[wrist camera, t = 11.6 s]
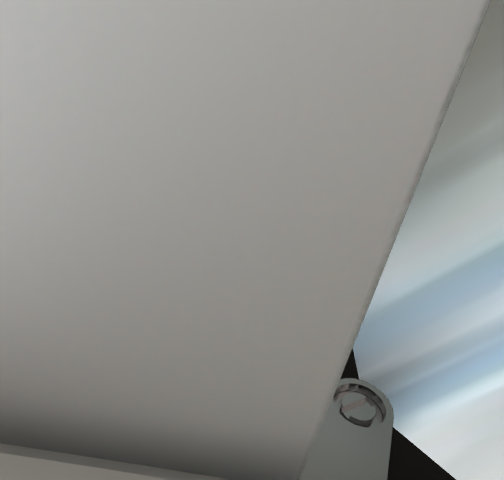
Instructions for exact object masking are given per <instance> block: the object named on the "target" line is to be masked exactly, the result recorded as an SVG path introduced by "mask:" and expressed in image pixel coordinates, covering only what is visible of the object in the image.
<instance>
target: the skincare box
mask: <svg viewBox="0 0 504 480" xmlns="http://www.w3.org/2000/svg"><path fill="white" fill-rule="evenodd" d="M490 1H491V0H0V443H2V444H9V445H15V446H22V447H29V448H35V449H41V450H48V451H54V452H61V453H67V454H74V455H80V456H87V457H93V458H100V459H106V460H112V461H119V462H125V463H131V464H138V465H144V466H151V467H157V468H163V469H170V470H176V471H182V472H188V473H194V474H200V475H207V476H213V477H219V478H225V479H231V480H300V478H301V475H302V473H303V470H304V468H305V466H306V463H307V461H308V458H309V456H310V453H311V451H312V448H313V446H314V443H315V441H316V438H317V436H318V433H319V431H320V428H321V426H322V423H323V420H324V418H325V415H326V413H327V410H328V408H329V405H330V403H331V400H332V398H333V395H334V393H335V390H336V388H337V385H338V383H339V380H340V378H341V375H342V373H343V370H344V368H345V365H346V363H347V360H348V358H349V355H350V353H351V350H352V348H353V345H354V342H355V340H356V337H357V335H358V332H359V330H360V327H361V325H362V322H363V320H364V317H365V315H366V312H367V310H368V307H369V305H370V302H371V300H372V297H373V295H374V292H375V290H376V287H377V285H378V282H379V280H380V277H381V275H382V272H383V270H384V267H385V264H386V262H387V259H388V257H389V254H390V252H391V249H392V247H393V244H394V242H395V239H396V237H397V234H398V232H399V229H400V227H401V224H402V222H403V219H404V217H405V214H406V212H407V209H408V207H409V204H410V202H411V199H412V197H413V194H414V191H415V189H416V186H417V184H418V181H419V179H420V176H421V174H422V171H423V169H424V166H425V164H426V161H427V159H428V156H429V154H430V151H431V149H432V146H433V144H434V141H435V139H436V136H437V134H438V131H439V129H440V126H441V124H442V121H443V119H444V116H445V114H446V111H447V109H448V106H449V104H450V101H451V99H452V96H453V93H454V91H455V88H456V86H457V83H458V81H459V78H460V76H461V73H462V71H463V68H464V66H465V63H466V61H467V58H468V56H469V53H470V51H471V48H472V46H473V43H474V41H475V38H476V36H477V33H478V31H479V28H480V26H481V23H482V21H483V18H484V16H485V13H486V11H487V8H488V6H489V3H490Z"/></svg>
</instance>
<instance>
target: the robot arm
mask: <svg viewBox="0 0 504 480" xmlns="http://www.w3.org/2000/svg"><path fill="white" fill-rule="evenodd" d="M393 419H394V416H393V408H392V406H391V404H390V402H389V400H388V399H387V398H386V396H385V395H384V394H383V393H382V392H381V391H380V390H379V389H377V388H376V387H375V386H373V385H371V384H369V383H367V382H365V381H362V380H359V377H358V372H357V368H356V363H355V358H354V353H353V348H352V350H351V353H350V355H349V358H348V360H347V363H346V365H345V368H344V370H343V373H342V375H341V378H340V380H339V383H338V385H337V388H336V390H335V393H334V395H333V398H332V400H331V403H330V405H329V408H328V410H327V413H326V415H325V418H324V420H323V423H322V426H321V428H320V431H319V433H318V436H317V438H316V441H315V443H314V446H313V448H312V451H311V453H310V456H309V458H308V461H307V463H306V466H305V468H304V470H303V473H302V475H301V478H300V480H456V479H455V478H453V477H452V476H451V475H450V474H449V473H447V472H446V471H445V470H444V469H443V468H441V467H440V466H439V465H438V464H437V463H435V462H434V461H433V460H432V459H431V458H429V457H428V456H427V455H426V454H425V453H423V452H422V451H421V450H420V449H419V448H417V447H416V446H415V445H414V444H413V443H411V442H410V441H409V440H408V439H407V438H405V437H404V436H403V435H402V434H401V433H399V432H398V431H397V430H396V429H395V428H393ZM0 480H231V479H225V478H219V477H213V476H207V475H200V474H194V473H188V472H182V471H176V470H170V469H163V468H157V467H151V466H144V465H138V464H131V463H125V462H119V461H112V460H106V459H100V458H93V457H87V456H80V455H74V454H67V453H61V452H54V451H48V450H41V449H35V448H29V447H22V446H15V445H9V444H2V443H0Z"/></svg>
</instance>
